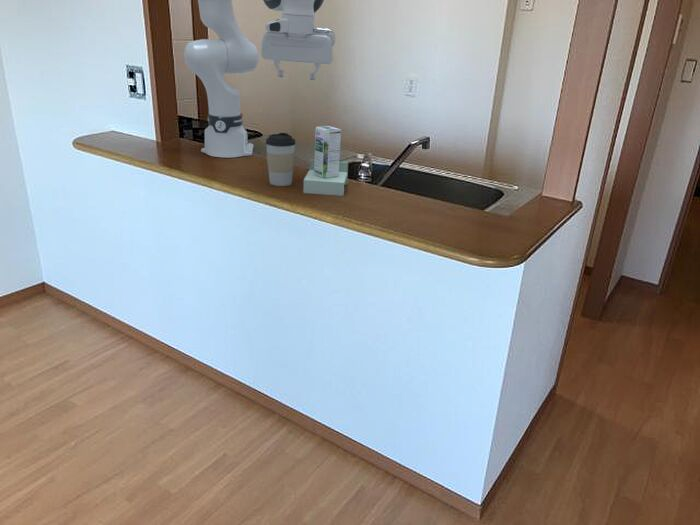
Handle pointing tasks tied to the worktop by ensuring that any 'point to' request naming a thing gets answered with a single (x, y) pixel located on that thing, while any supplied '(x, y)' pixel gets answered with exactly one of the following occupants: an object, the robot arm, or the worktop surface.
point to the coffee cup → (280, 158)
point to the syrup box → (327, 151)
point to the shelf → (326, 181)
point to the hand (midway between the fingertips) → (296, 78)
